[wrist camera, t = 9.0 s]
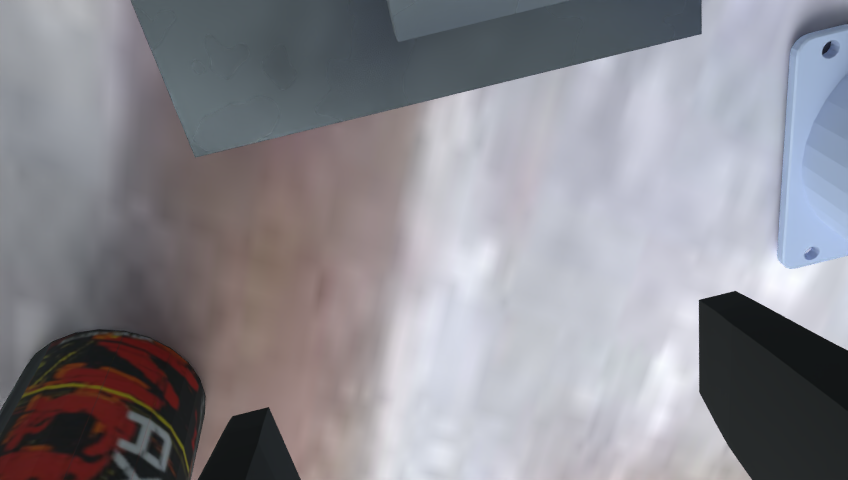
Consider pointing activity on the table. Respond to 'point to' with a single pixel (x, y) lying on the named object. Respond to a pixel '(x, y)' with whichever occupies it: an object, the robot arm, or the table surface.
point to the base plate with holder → (366, 57)
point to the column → (451, 14)
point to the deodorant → (102, 412)
